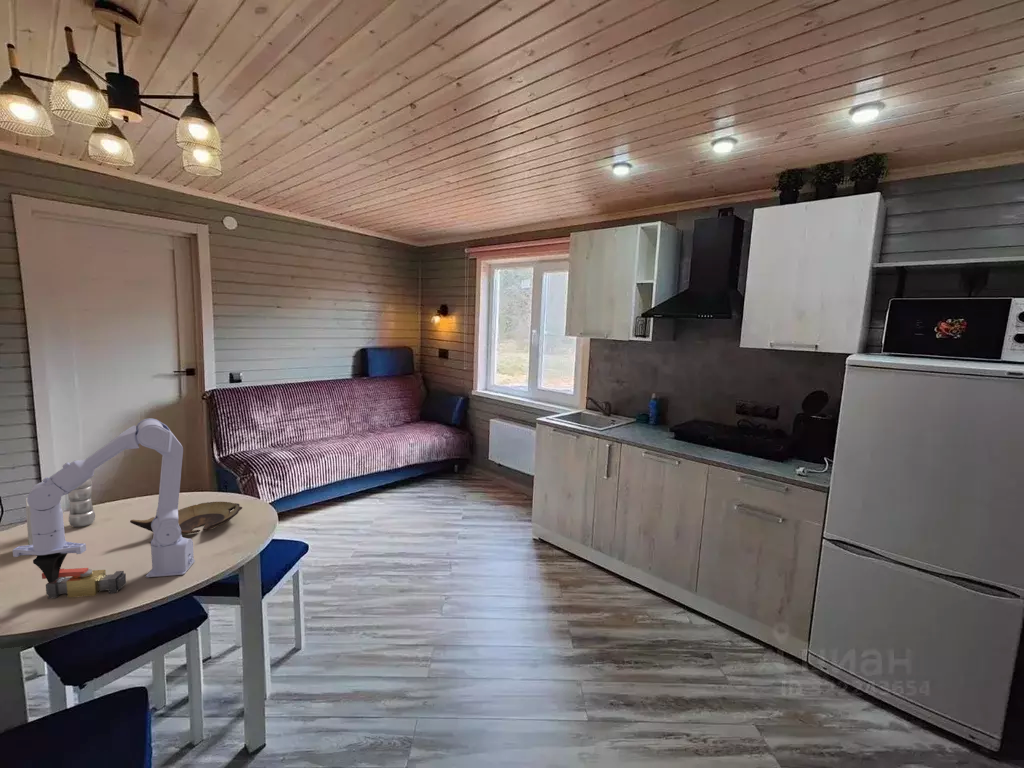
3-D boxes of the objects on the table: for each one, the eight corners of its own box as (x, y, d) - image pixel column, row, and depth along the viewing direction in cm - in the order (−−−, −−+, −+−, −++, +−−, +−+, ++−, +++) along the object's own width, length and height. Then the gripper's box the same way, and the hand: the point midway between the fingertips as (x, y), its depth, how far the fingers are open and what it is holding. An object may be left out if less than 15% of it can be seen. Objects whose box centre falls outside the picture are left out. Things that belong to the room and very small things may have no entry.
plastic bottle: (98, 524, 159) (95, 468, 156) (72, 531, 153) (68, 473, 151) (92, 519, 162) (88, 464, 160) (66, 525, 157) (61, 468, 154)
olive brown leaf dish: (237, 536, 156) (236, 515, 155) (125, 549, 144) (124, 526, 143) (245, 510, 176) (245, 491, 175) (148, 520, 164) (147, 499, 163)
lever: (94, 571, 123) (94, 566, 123) (88, 576, 121) (88, 571, 121) (48, 574, 121) (48, 569, 121) (41, 579, 119) (41, 574, 118)
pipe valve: (128, 583, 127) (127, 567, 126) (118, 593, 122) (117, 576, 122) (56, 589, 123) (55, 572, 122) (43, 599, 118) (42, 582, 117)
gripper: (92, 521, 122) (96, 570, 123) (27, 524, 119) (32, 573, 121) (72, 534, 115) (77, 585, 117) (3, 536, 112) (8, 589, 114)
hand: (52, 580), depth 118 cm, fingers closed, pressing on lever
